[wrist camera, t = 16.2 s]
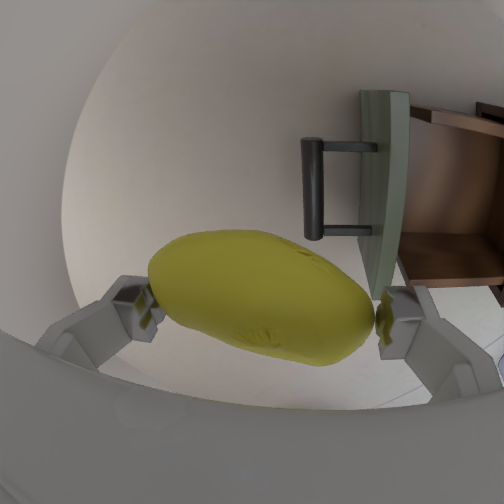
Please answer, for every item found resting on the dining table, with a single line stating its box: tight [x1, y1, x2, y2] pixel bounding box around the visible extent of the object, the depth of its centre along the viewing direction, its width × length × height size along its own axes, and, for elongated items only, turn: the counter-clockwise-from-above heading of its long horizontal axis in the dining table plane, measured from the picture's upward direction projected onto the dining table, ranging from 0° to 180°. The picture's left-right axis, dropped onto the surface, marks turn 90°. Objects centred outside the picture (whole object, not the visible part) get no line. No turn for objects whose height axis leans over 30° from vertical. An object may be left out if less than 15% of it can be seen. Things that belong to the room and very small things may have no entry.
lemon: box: [148, 230, 375, 366], centre depth 9 cm, size 4×8×4 cm, turn 72°
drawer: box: [300, 90, 504, 300], centre depth 17 cm, size 20×14×8 cm
